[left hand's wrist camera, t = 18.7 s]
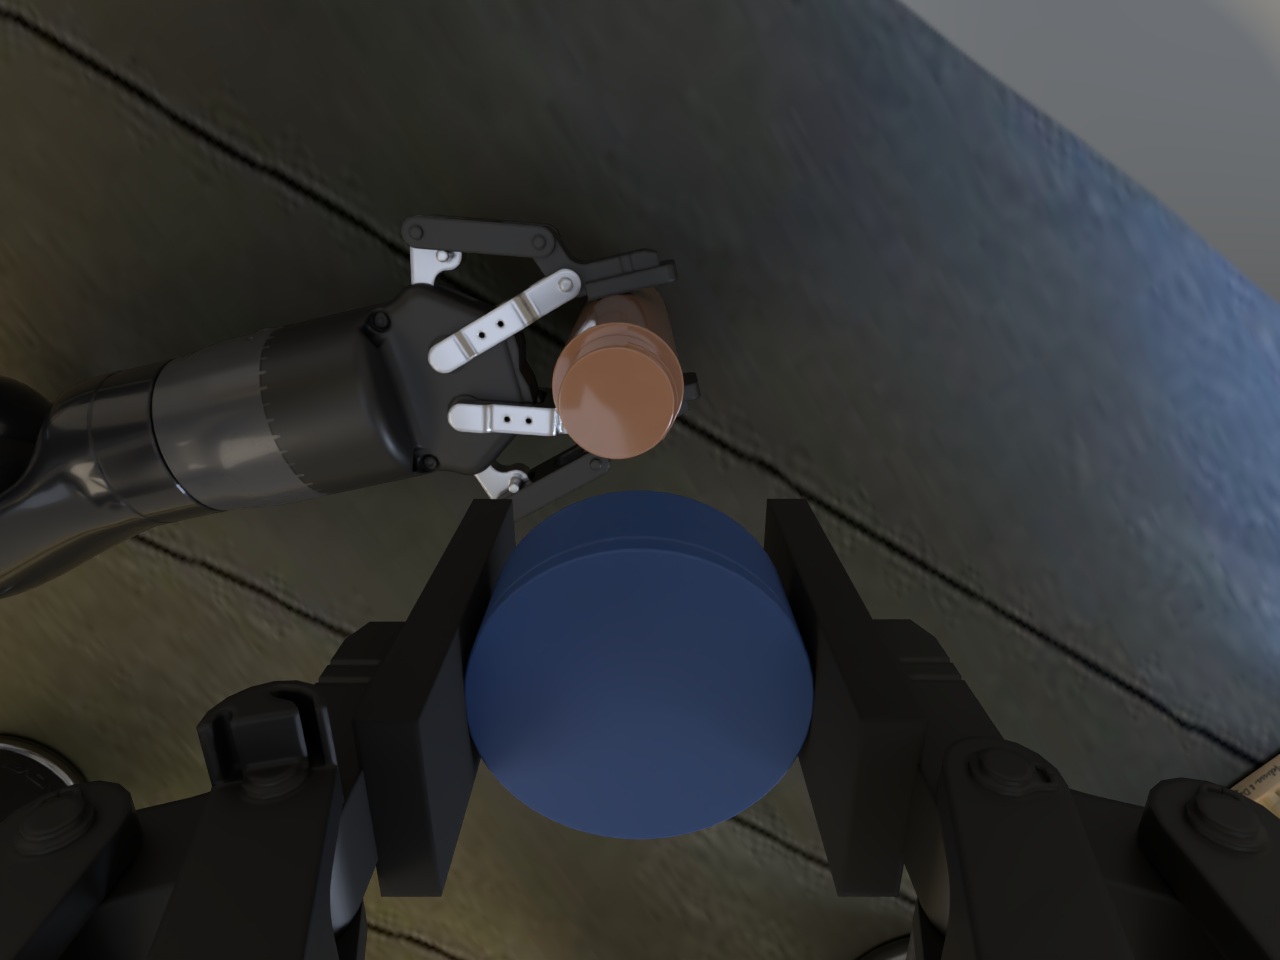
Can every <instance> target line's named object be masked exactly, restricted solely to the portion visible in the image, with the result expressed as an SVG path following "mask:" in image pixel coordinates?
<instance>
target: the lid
mask: <svg viewBox="0 0 1280 960" xmlns="http://www.w3.org/2000/svg"><path fill="white" fill-rule="evenodd" d="M464 693H465V703H466V713H467V722H468V727H469V731H470V735H471V737H472V739H473V742H474V744H475V746H476V748H477V751H478V753H479V754H480V756H481V758H482V759H483V761H484V762H485V764H486V766H487V767H488V769H489V770H490V771H491V772H492V774H493V775H494V776H495V777H496V778H497V780H498V781H499V782H500V783H501V784H502V785H503V786H504V787H505V788H506V789H507V790H508V791H509V792H510V793H511V794H513V795H514V796H515V797H516V798H517V799H519V800H520V801H521V802H523V803H524V804H525V805H527V806H528V807H530V808H531V809H533V810H534V811H536V812H538V813H540V814H541V815H543V816H545V817H547V818H549V819H551V820H553V821H555V822H558V823H560V824H562V825H565V826H567V827H570V828H573V829H577V830H580V831H583V832H586V833H590V834H596V835H601V836H606V837H613V838H624V839H655V838H664V837H673V836H678V835H682V834H687V833H692V832H695V831H698V830H701V829H705V828H708V827H711V826H713V825H716V824H718V823H720V822H722V821H725V820H727V819H729V818H731V817H733V816H735V815H736V814H738V813H740V812H742V811H743V810H745V809H747V808H748V807H750V806H751V805H752V804H754V803H755V802H757V801H758V800H759V799H761V798H762V797H763V796H764V795H766V794H767V793H768V792H769V791H770V790H771V789H772V788H773V787H774V786H775V785H776V784H777V783H778V782H779V781H780V780H781V778H782V777H783V776H784V775H785V773H786V772H787V771H788V770H789V768H790V767H791V766H792V764H793V762H794V761H795V759H796V757H797V756H798V754H799V752H800V751H801V748H802V746H803V743H804V741H805V739H806V736H807V734H808V731H809V727H810V723H811V719H812V715H813V705H814V677H813V672H812V667H811V663H810V659H809V655H808V652H807V650H806V647H805V645H804V642H803V639H802V636H801V634H800V631H799V628H798V626H797V623H796V620H795V617H794V615H793V612H792V609H791V607H790V604H789V601H788V599H787V596H786V593H785V591H784V588H783V585H782V583H781V580H780V578H779V575H778V573H777V570H776V568H775V566H774V565H773V563H772V561H771V560H770V558H769V556H768V554H767V553H766V552H765V550H764V549H763V548H762V547H761V545H760V544H759V543H758V542H757V540H756V539H755V538H754V537H753V536H752V535H751V534H750V533H748V532H747V531H746V530H745V529H744V528H743V527H742V526H741V525H740V524H738V523H737V522H735V521H734V520H733V519H731V518H730V517H728V516H727V515H725V514H724V513H722V512H720V511H718V510H716V509H714V508H712V507H710V506H709V505H706V504H703V503H701V502H698V501H696V500H693V499H690V498H687V497H683V496H679V495H675V494H670V493H663V492H655V491H623V492H615V493H607V494H603V495H599V496H595V497H591V498H588V499H585V500H582V501H580V502H577V503H575V504H572V505H570V506H567V507H565V508H564V509H562V510H560V511H558V512H556V513H555V514H553V515H551V516H549V517H548V518H547V519H545V520H544V521H543V522H541V523H540V524H539V525H537V526H536V527H535V528H534V529H533V530H532V531H531V532H530V533H528V534H527V535H526V536H525V537H524V538H523V539H522V540H521V542H520V543H519V544H518V545H517V547H516V548H515V549H514V551H513V552H512V553H511V554H510V556H509V558H508V560H507V561H506V563H505V565H504V567H503V568H502V570H501V573H500V575H499V578H498V580H497V583H496V586H495V588H494V591H493V594H492V596H491V599H490V602H489V604H488V607H487V610H486V612H485V615H484V618H483V620H482V623H481V626H480V628H479V631H478V634H477V636H476V639H475V642H474V644H473V647H472V650H471V652H470V655H469V658H468V661H467V666H466V671H465V676H464Z"/></svg>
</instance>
